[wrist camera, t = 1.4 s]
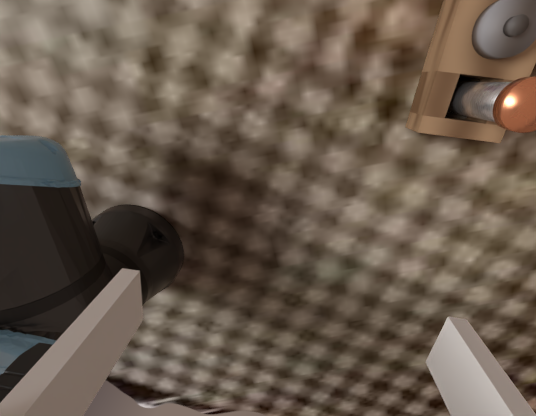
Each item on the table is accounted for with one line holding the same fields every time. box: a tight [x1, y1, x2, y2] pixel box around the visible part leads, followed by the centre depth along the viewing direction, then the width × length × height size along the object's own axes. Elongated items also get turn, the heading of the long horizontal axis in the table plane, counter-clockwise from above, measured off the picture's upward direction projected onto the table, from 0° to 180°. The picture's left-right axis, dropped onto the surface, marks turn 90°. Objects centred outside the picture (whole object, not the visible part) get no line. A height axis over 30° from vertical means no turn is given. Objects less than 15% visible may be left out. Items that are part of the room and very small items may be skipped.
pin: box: [447, 77, 536, 133], centre depth 29 cm, size 4×4×12 cm
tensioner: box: [406, 0, 536, 143], centre depth 30 cm, size 9×13×7 cm
